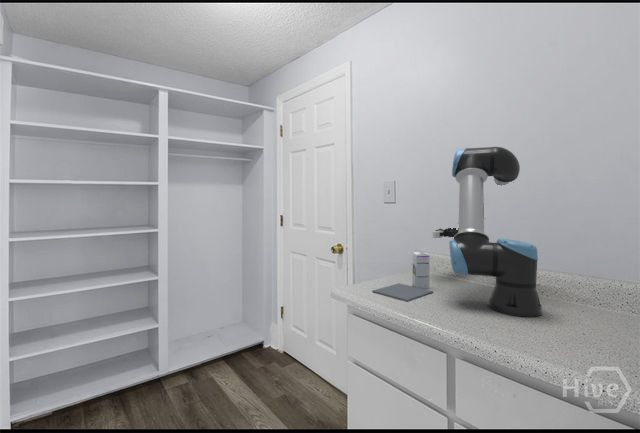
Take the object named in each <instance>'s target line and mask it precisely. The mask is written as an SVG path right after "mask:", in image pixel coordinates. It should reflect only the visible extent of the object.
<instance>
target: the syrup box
mask: <svg viewBox="0 0 640 433" xmlns="http://www.w3.org/2000/svg"><path fill="white" fill-rule="evenodd" d="M430 257H431V256H430V254H429V253H427V252H424V251H417V252H416V251H414V252H412V286H413V287H417V288H421V289H426V290H430Z"/></svg>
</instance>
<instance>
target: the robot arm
mask: <svg viewBox="0 0 640 433" xmlns="http://www.w3.org/2000/svg"><path fill="white" fill-rule="evenodd" d="M520 168H521V167H520V161H519V159H518V158H517V156H515V154H514V153H513V152H511V151H510V150H508V149H507V148H505V147H501V146H486V147H466V148H459V149H457V150H456V151H455V153H454V156H453V162H452V170H451V176H452V177H453V178H455V181H456V182H457V183H458V184H459V188H458V189H459V192H458V194H459V195H458V198H459V199H458V224H459V228H458V230H456V228H453V229H451V228H449V227H447V228H445V229H443V228H438V229H435V230H434V231H432V238H433V239H441V238H443V237H445V238H446V237H448V238H451V237H454V239H452V240H449V241H448V244H449V255H450V264H451V269H452V271H453V272H454V273H456V274H461V275H466V276H467V275H470V276H482V277H491V278H492V277H493V278H494V277H495V285H494V288H493V291H492V292H491V296H490V297H489V300H488V302H489V303H488V304H489V307H490V308H491V309H492V310H494V311H496V312H500V313H501V314H502V313H503V314H505V315H511V316H516V317H517V316H518V317H523V318H524V317H527V318H528V317H529V318H530V317H538V316H541V315H542V312H543V307H542V306H543V305H542V303H541V300H540V297H539V294H538V291H537V279H538V277H537V274H538V273H537V272H538V261H539V257H538V248H537V246H536V245H534V244H532V243H529V242H525V241H520V240H514V239H509V238H497V240H496V242H491V241H490V239H489V238H490V237H489V236H488V235H487V234H486V233H485V218H484V200H485V199H484V198H485V197H484V183H485V182H486V181H487V180H488V177H493V181H495V183H496V184H497V185H501V186H502V185H506V184H508V183H509V182H512V181H514V182H515V180H517V179H518V177H519V174H520Z"/></svg>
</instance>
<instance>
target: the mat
mask: <svg viewBox="0 0 640 433" xmlns="http://www.w3.org/2000/svg"><path fill="white" fill-rule="evenodd" d="M372 293H375V294H377V295H378V294H379V295H381V296H385V297H388V298H389V297H390V298H391V299H392V298H393V299H397V300H400V301H403V302H405V303H406V302H411V301H413V300H416V299H420V298H422V297H426V296H428V295H430V294H433V293H434V291H433V290H430V289H421V288H417V287H414V286H413V285H409V284H404V283H395V284H392V285H388V286H385V287H381V288H377V289H373V290H372Z"/></svg>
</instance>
